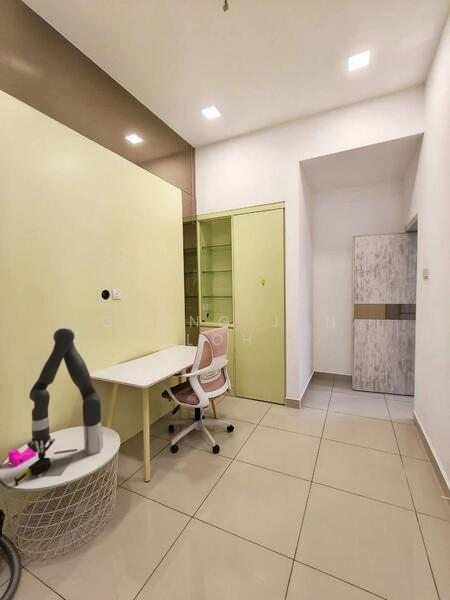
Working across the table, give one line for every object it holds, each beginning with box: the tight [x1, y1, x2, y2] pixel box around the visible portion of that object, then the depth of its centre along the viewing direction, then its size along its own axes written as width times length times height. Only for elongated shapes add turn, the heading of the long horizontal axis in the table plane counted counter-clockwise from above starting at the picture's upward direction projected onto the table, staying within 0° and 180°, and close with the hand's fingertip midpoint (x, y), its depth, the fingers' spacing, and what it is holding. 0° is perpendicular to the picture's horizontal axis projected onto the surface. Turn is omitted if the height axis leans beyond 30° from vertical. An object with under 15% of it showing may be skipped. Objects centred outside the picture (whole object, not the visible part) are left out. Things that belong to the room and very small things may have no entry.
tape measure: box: [14, 457, 51, 486], centre depth 133 cm, size 15×4×8 cm
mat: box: [37, 456, 73, 478], centre depth 141 cm, size 10×14×2 cm
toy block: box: [7, 446, 38, 467], centre depth 149 cm, size 15×6×8 cm, turn 163°
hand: (41, 458), depth 140 cm, fingers closed
